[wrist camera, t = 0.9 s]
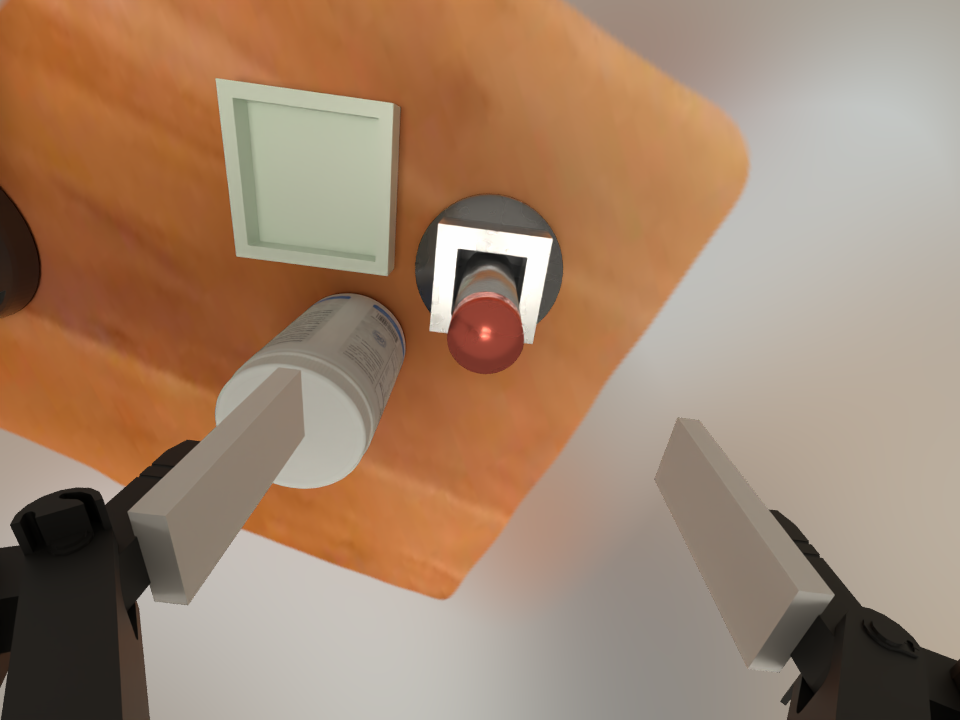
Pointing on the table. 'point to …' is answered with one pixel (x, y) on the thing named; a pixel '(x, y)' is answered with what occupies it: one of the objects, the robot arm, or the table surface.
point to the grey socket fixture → (492, 230)
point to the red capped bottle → (486, 316)
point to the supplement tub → (329, 383)
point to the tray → (311, 176)
